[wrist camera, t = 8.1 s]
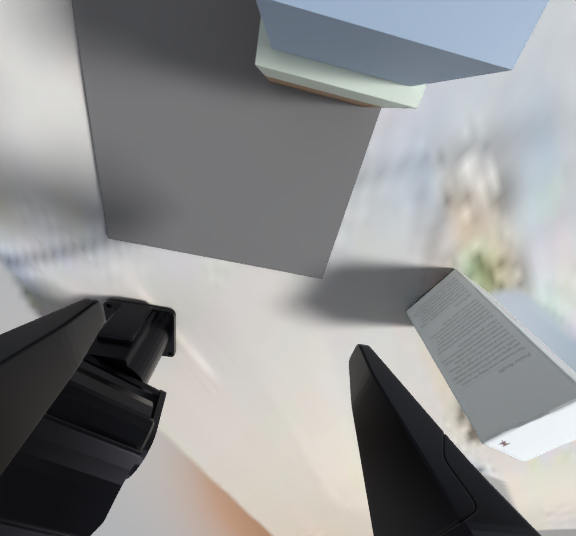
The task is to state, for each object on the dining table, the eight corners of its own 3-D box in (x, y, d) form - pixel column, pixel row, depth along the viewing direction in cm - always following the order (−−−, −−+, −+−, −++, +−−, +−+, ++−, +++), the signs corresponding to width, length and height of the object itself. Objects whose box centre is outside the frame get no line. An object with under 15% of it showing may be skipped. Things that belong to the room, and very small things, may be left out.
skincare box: (433, 328, 27) (522, 464, 17) (404, 310, 26) (479, 446, 15) (486, 287, 24) (630, 421, 14) (455, 265, 23) (588, 394, 13)
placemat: (321, 276, 24) (322, 278, 23) (111, 236, 22) (108, 238, 21) (478, -181, 11) (484, -190, 11) (23, -365, 9) (13, -383, 9)
